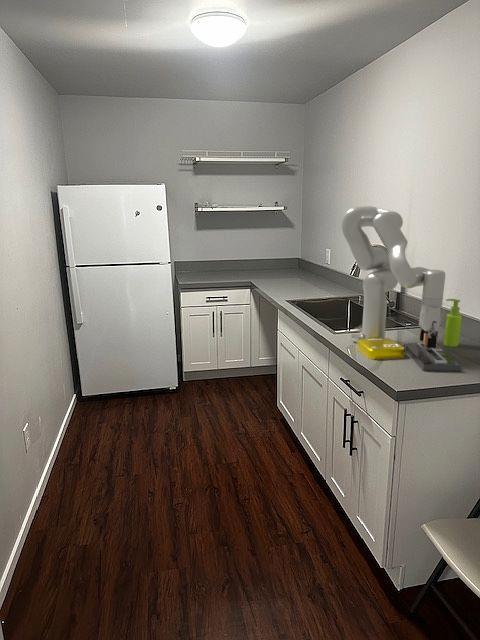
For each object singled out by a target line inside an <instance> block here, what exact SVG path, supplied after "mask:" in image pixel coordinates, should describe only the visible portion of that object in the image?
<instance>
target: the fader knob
mask: <svg viewBox="0 0 480 640" xmlns="http://www.w3.org/2000/svg"><path fill="white" fill-rule="evenodd" d="M432 333H433V332H431V334H432ZM428 338H429V333H424V340H423V341H422V343H423V344H424V345H426V346H423V347H424V348H425V349H426V350H428V351H431V348H428V347H427V342H428Z"/></svg>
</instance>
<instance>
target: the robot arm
mask: <svg viewBox="0 0 480 640" xmlns="http://www.w3.org/2000/svg"><path fill="white" fill-rule="evenodd" d="M403 219H404V218H403V217H402V216H401V214H400V213H399V212H396V211H393V210H389V209H384V208H379V207H375V206H370V205H369V206H368V205H367V206H355V207H351V208H349V209H348V210H347V211H345V213H344V215H343V217H342V219H341V231H342V234H343V237H344V238H345V241H346V242H347V244H348V246H349V249H350V251H351V253H352V256H353V258H354V260H355V262H356V264H357V267H358V268H359V269H360V270H361V271H364V272H365V271H366V272H367V271H372V272H370V273H368V274H367V275H365V277H364V279H363V282H362V287H363V289H362V290H363V310H362V311H363V312H362V325H361V330H360V331H359V332H358V333H350V338H351V339H355V340H357V341H358V340H360V339H379V338H385V335H386V334H385V332H386V322H387V321H386V320H387V305H388V303H387V302H388V301H387V300H388V299H387V295H386V292H390V291H392V290H394V289H395V288H396V287H397V285H398V284H399V286H401V287H402V288H404V289H412V288H416V287H421V286H422V296H421V309H420V314H419V319H418V326H419V327H420V334H419V341H421V342H423V340H424V333H429V338H428V342H427V347H428V348H436V345H437V340H438V335H439V328H440V324H441V323H440V320H441V307H443V300H444V293H445V292H444V291H445V284H446V283H445V282H446V272H445V271H444V270H440V269H429V268H425V267H421V266H416V267H411V265H410V264H409V262H408V260H407V257H406V248H407V246H408V240H407V238H406V236H405V235H404V232H403V231H402V229H401V228H402V227H403V223H404V222H403ZM363 227H365V228H366V227H371V228H373V229H374V231H375V232H376V234H377V236H378V237H379V238H380V241H381V242H382V244H383V246H384V248H385V249H383V248H382V247H375V246H374V247H373V245H372V243H371V241H370V238H369V237H368V234H366V233H365V231H364V230H363ZM431 333H432V334H431Z"/></svg>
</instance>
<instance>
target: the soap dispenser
mask: <svg viewBox="0 0 480 640" xmlns="http://www.w3.org/2000/svg"><path fill="white" fill-rule="evenodd" d="M445 301H447V302H450V301H451V302H453V304H452V305H453V306H450V311H449V313H447V314H446V318H445V319H446V321H445V328H444V336H443V345H444V346H447V347H452V348H453V347H455V348H456V347H458V346H459V345H460V344H459V343H460V334H461V328H462V327H461V326H462V319H463V318H462V317H463V316H462V315H461V314H460V310H461V309H460V308H461V307H459V303H460V302H461V299H456V298H447V299H445Z"/></svg>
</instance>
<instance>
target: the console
mask: <svg viewBox="0 0 480 640" xmlns="http://www.w3.org/2000/svg"><path fill="white" fill-rule="evenodd" d="M404 345H405V347H404V348H405V351H404V352H406V353H407V354H408V355H409V357H410V358H411V359H412V360H413V361H414V362H415V364H416V365H417V366H418V367H419V368H420V369H421V370H422V371H424V372H454V373H458V372H459V373H460V371H461V364H459V363H458V361H456V360H455V359H454V358H453V357H452V356H450V354H449V353H447V351H445V350H444V349H443V348H442V347H440V346H439V345H438V344H436V348H431V351H428V350H426V349H425V348H424V347H423V346H426V345H424V344H423V342H417V343H416V344H404Z"/></svg>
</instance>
